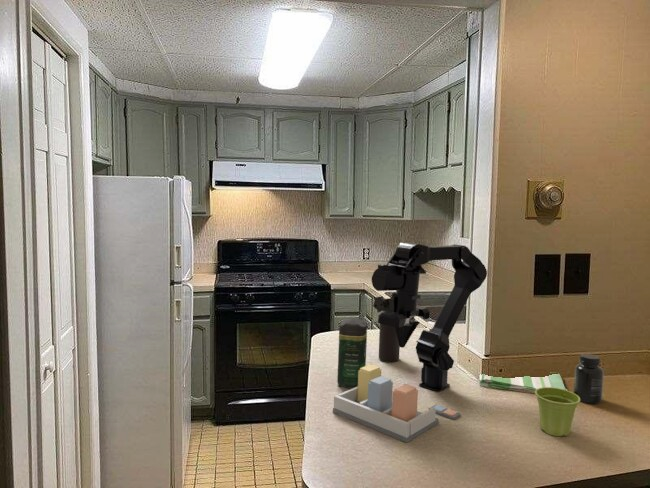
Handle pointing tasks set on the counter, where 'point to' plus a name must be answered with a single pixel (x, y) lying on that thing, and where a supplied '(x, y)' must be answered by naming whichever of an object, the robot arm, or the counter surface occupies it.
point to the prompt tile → (446, 412)
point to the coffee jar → (351, 351)
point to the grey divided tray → (382, 417)
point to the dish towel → (522, 382)
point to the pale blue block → (380, 394)
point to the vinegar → (388, 343)
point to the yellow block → (366, 380)
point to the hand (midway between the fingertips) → (401, 347)
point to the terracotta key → (405, 402)
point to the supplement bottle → (589, 379)
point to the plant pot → (556, 410)
